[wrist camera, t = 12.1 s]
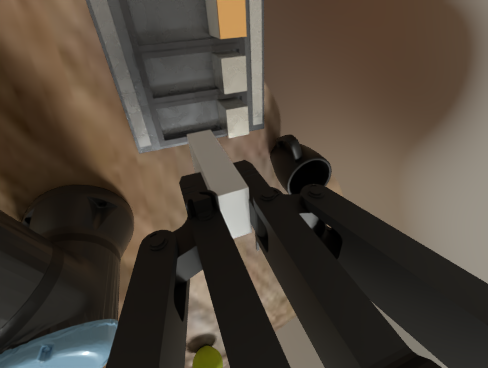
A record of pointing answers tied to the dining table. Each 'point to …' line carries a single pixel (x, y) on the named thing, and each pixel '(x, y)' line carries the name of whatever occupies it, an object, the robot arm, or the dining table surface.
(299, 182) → the mug
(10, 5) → the dining table surface
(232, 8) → the block
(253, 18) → the panel
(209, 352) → the fruit
